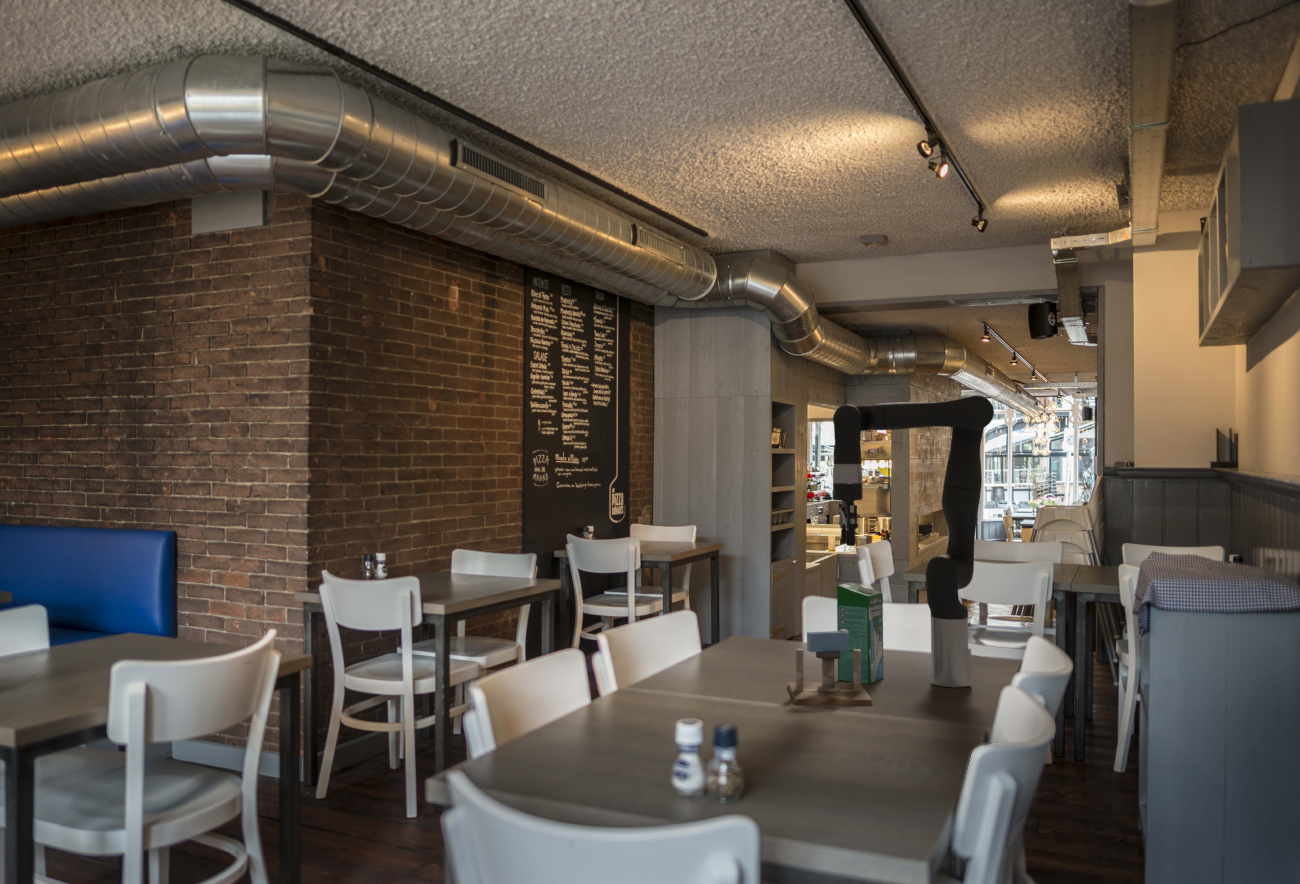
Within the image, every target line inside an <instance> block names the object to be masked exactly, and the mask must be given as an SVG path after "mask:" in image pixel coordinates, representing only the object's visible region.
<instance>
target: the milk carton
mask: <svg viewBox="0 0 1300 884" xmlns="http://www.w3.org/2000/svg"><path fill="white" fill-rule="evenodd" d="M883 602H884V599H883V591H882V592H881V591H879V590H876V589H875V588H874V587H873V586H871V585H868V584H862V583H860V584H859V583H855V582H851V581H850V582H846V583H841V584H837V585H836V603H837V604H836V608H837V609H836V611H837V612H836V613H837V614H836V623H837V625H836V626H837V627H836V629H837V630H836V631H840V629H845V630H848V631H849V651H841V658H839V659H837V680H838V681H846V682H850V683H853V649H860V650H861V684H865V685H866V684H867V685H871V684H873V683H875V682H877V681H879V680H882V679H884V678H885V677H884V675H885V674H884V672H885V671H884V612H883V611H884V609H883V608H884V607H883V605H884V604H883Z"/></svg>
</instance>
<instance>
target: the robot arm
mask: <svg viewBox="0 0 1300 884" xmlns="http://www.w3.org/2000/svg"><path fill="white" fill-rule="evenodd" d="M994 416H995V410H994V405H993V404H992V402H991V401H990V400H989V399H988V398H987V397H986V396H983V394H982V395H981V394H977V393H965V394H963V395H960V396H959V397H958V398H957V399H952V400H946V401H936V402H932V401H931V402H916V401H915V402H913V401H910V402H909V401H905V402H904V401H902V402H901V401H899V402H883V403H882V402H881V403H874V404H871V405H852V404H843V405H840V406H839V407H837V408H836V410H835V412H833V416H832V423H833V430H834V431H833V432H834V433H833V434H834V446H833V469H832V498H833V500H834V501H841V503H839V505H838V507H839V508H838V512H839V515H838V516H839V520H838V521H839V522H838V525H839V528H840V530H841V531H840V533H841V534H840V537H841V538H840V540H841V541H840V542H841V543H842V544H845V545H846V546H848V547H850V546H851V547H854V546H856V531H857V529H858V527H859V525H858V505H857V504H855V501H862V500H863V497H864V496H863V490H864V489H863V468H862V448H861V437H862V436H861V435H862V432H866V431H867V432H868V431H894V430H907V429H919V428H920V429H921V428H931V427H933V428H934V427H936V428H937V427H938V428H939V427H946V428H947V427H948V428H951V442H950V443H951V445H950V449H949V455H948V459H947V464H946V469H945V474H944V475H945V476H944V481H943V489H942V496H941V507H942V511H943V515H944V519H945V522H946V525H947V530H948V542H947V547H946V553H945V554H941V555H935V556H934V557H932V558H930V560H929V561H928V563H927V565H926V570H925V589H926V601H927V605H928V607H929V610H930V647H931V648H930V653H931V654H930V661H931V662H930V663H931V664H930V666H931V667H930V668H931V670H930V671H931V674H930V676H931V683H932V685H934V686H939V687H946V688H965V687H972V648H970V647H969V610H968V607H967V606H966V605H965V604H963V603H961V601H960V598H959V590H962V589H965V588H967V587H968V586H969V585H970V583H971V582H972V580H973V577H974V576H973V575H974V572H975V571H974V569H975V538H976V528H977V520H978V512H979V507H980V506H979V505H980V501H981V500H980V499H981V491H982V480H983V479H982V477H983V476H982V464H981V463H982V462H981V461H982V460H981V443H982V440H983V439H982V438H983V434H984V429H985V427H987V426H988V425H989V424H990V423H991V422H992V420H993V418H994Z"/></svg>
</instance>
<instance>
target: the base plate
mask: <svg viewBox="0 0 1300 884" xmlns="http://www.w3.org/2000/svg"><path fill="white" fill-rule="evenodd" d="M835 666H836V665H835V659H821V674H822V675H821V681H817V682H816V681H815V682H814V681H804V649H803V648H795V681H794V682H793V681H788V682H787V683H788V684H787V686H788V689H789V692H790V695H791V697H792V699H793V702H794V704H795V705H830V706H831V705H835V706H836V705H837V706H841V705H843V706H844V705H847V706H849V705H850V706H853V705H854V706H856V705H858V706H859V705H860V706H873V699H872V697H871V696H870V695H869V693H868V692H867V690H866V689H865V688H864V687H863V685H862V683H861V650H860V649H853V682H835V680H836V679H835V677H836V675H835V673H836V672H835V671H836V670H835V669H836V668H835Z"/></svg>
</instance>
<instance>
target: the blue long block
mask: <svg viewBox="0 0 1300 884" xmlns="http://www.w3.org/2000/svg"><path fill="white" fill-rule="evenodd" d="M806 651H807V652H810V653H815V658H817V659H821V660H822V659H834V660H838V659H839V658H841V651H849V631H848V630H845V629H840V631H837V630H836V631H835V630H833V631H831V630H830V631H807V632H806Z"/></svg>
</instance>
